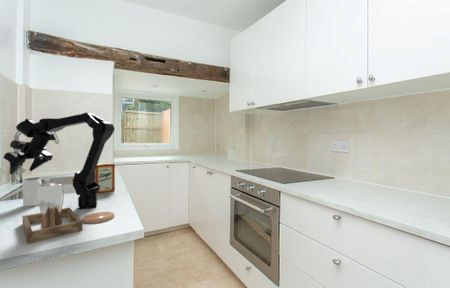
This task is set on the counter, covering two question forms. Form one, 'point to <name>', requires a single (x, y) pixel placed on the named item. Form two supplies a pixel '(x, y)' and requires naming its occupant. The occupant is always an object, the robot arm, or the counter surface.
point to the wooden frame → (51, 231)
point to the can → (31, 191)
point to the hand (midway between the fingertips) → (21, 172)
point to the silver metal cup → (50, 203)
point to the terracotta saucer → (97, 217)
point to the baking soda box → (105, 177)
